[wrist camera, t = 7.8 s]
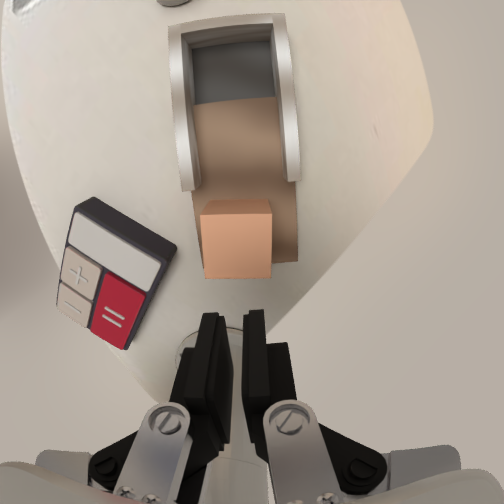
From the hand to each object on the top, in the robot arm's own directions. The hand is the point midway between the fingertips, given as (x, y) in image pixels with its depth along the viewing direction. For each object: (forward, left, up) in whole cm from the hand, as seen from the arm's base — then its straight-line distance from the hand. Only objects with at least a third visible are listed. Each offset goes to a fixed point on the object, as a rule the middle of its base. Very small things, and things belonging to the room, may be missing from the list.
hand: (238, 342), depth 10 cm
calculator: (-5, +16, -18) cm, 24 cm away
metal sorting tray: (+7, 0, -17) cm, 18 cm away
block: (0, +1, -15) cm, 15 cm away
